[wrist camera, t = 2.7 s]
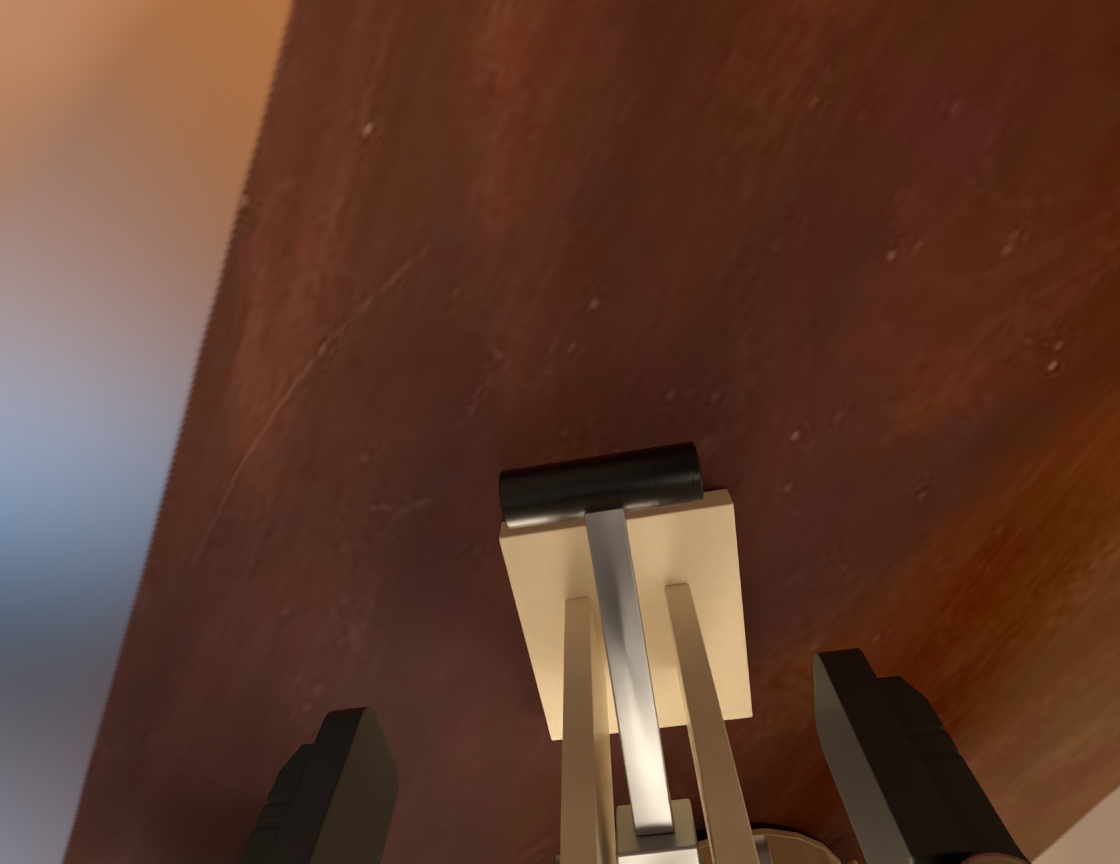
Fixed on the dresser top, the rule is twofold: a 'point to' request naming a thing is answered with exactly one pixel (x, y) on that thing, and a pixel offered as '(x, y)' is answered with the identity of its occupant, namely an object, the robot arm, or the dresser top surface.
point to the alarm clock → (785, 849)
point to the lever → (621, 616)
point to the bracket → (673, 653)
